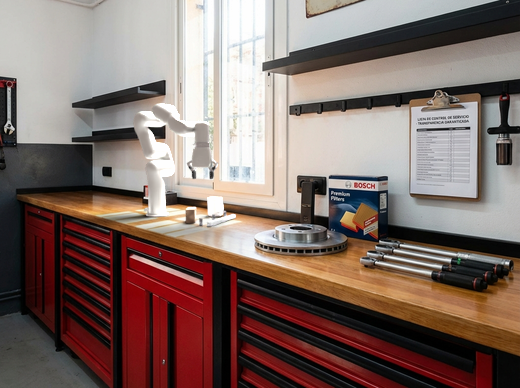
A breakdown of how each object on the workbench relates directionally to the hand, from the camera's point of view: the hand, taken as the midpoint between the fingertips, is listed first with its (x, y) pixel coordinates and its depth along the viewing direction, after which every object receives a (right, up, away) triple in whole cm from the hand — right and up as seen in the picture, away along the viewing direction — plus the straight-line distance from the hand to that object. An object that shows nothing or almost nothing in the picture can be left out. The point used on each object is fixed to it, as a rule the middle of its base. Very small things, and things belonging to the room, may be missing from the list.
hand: (202, 178), depth 213 cm
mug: (+5, -21, +18) cm, 28 cm away
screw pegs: (+6, -22, 0) cm, 23 cm away
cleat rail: (+10, -22, -2) cm, 25 cm away
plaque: (-6, -22, +1) cm, 23 cm away
